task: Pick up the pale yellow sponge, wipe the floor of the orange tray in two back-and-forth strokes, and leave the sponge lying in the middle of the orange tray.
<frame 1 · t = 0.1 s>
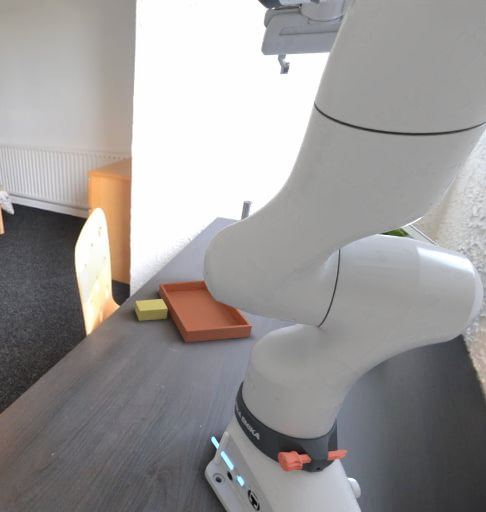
hand: (308, 72, 78), 54 cm above the table, tool tilted 30°, fingers open, 8 cm apart
sponge: (150, 314, 93), on the table
bottle: (232, 287, 104), on the table
orange tray: (199, 313, 93), on the table
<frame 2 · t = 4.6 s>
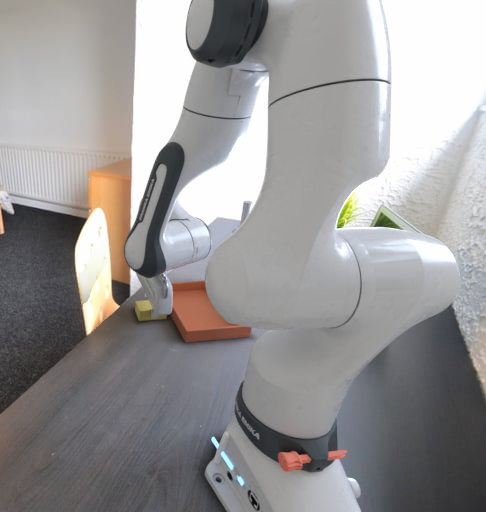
hand: (151, 309, 92), 2 cm above the table, tool pointing down, fingers closed on sponge, 4 cm apart
sponge: (150, 314, 93), on the table, touching gripper
everything else where it was.
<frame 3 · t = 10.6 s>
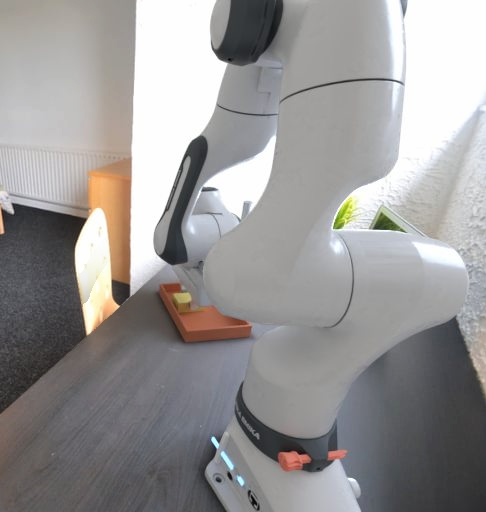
hand: (188, 301, 94), 2 cm above the table, tool pointing down, fingers closed on sponge, 4 cm apart
sponge: (187, 307, 94), point 1 cm above the table, touching gripper
everything else where it was.
when the fingers open (2 cm above the table, at t = 16.4 s): sponge stays where it is, resting on orange tray.
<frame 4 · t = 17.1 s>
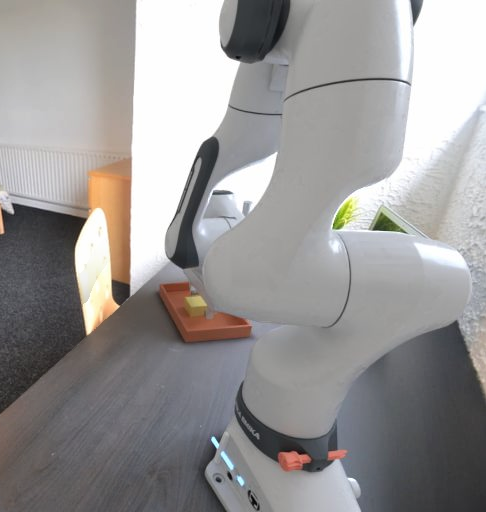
hand: (200, 306, 92), 2 cm above the table, tool pointing down, fingers open, 8 cm apart
sponge: (200, 310, 93), point 1 cm above the table, touching orange tray
everything else where it was.
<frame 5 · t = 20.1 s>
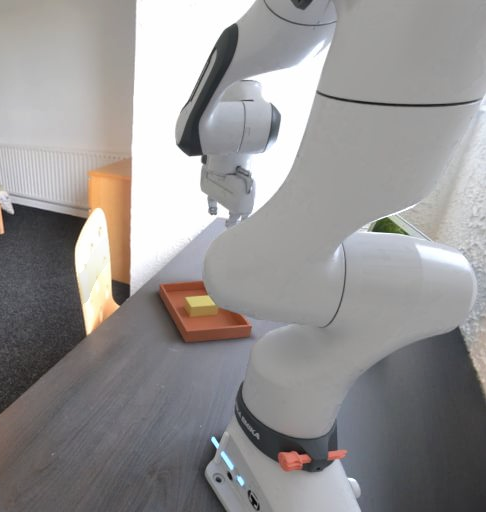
hand: (220, 220, 87), 23 cm above the table, tool pointing down, fingers open, 8 cm apart
nothing on the table moved.
at the end: sponge inside the target area in the orange tray (0.1 cm from its centre), point 0.6 cm above the orange tray's base; sponge moved 12.6 cm from its start; the gripper is holding nothing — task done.
